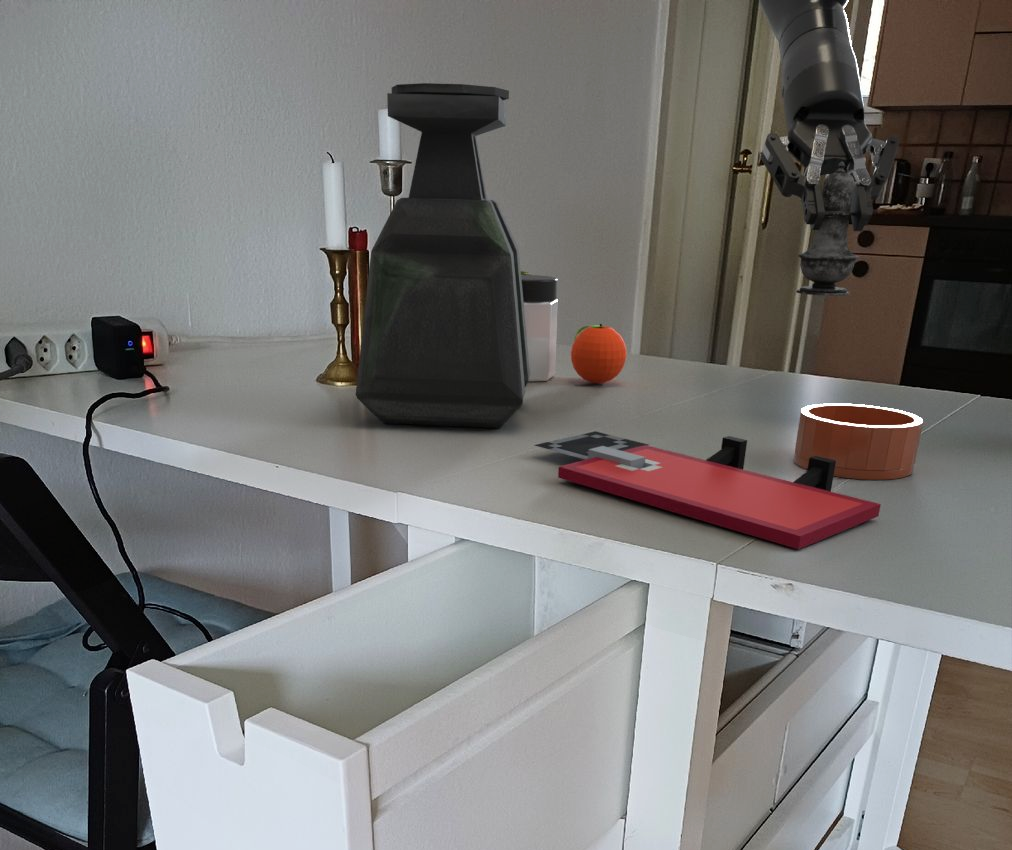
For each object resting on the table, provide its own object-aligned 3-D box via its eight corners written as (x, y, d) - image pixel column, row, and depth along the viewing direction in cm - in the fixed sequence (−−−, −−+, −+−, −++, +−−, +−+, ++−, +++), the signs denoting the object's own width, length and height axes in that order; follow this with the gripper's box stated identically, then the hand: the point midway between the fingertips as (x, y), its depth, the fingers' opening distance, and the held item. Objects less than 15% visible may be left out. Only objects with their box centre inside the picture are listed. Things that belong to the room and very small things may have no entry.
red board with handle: (607, 438, 98) (495, 464, 88) (609, 408, 96) (495, 432, 87) (900, 512, 79) (797, 555, 69) (908, 476, 77) (803, 516, 68)
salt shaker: (781, 290, 104) (798, 160, 99) (828, 290, 106) (847, 162, 101) (816, 296, 99) (835, 159, 94) (865, 295, 101) (887, 161, 96)
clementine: (552, 380, 129) (554, 321, 126) (589, 375, 133) (593, 318, 130) (598, 389, 123) (602, 328, 120) (635, 384, 128) (640, 325, 125)
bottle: (521, 435, 99) (533, 81, 86) (355, 428, 100) (342, 77, 87) (529, 401, 115) (540, 99, 102) (386, 395, 116) (379, 95, 103)
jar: (474, 375, 130) (475, 275, 125) (517, 369, 136) (520, 273, 131) (526, 385, 125) (529, 281, 120) (568, 378, 130) (573, 278, 125)
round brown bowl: (886, 452, 97) (896, 405, 95) (931, 481, 88) (942, 428, 86) (779, 450, 96) (786, 402, 95) (813, 478, 87) (822, 426, 85)
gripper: (762, 56, 100) (778, 192, 94) (903, 60, 101) (928, 196, 95) (743, 120, 107) (757, 251, 101) (875, 123, 108) (896, 254, 102)
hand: (839, 223), depth 98 cm, fingers closed on salt shaker, 3 cm apart
